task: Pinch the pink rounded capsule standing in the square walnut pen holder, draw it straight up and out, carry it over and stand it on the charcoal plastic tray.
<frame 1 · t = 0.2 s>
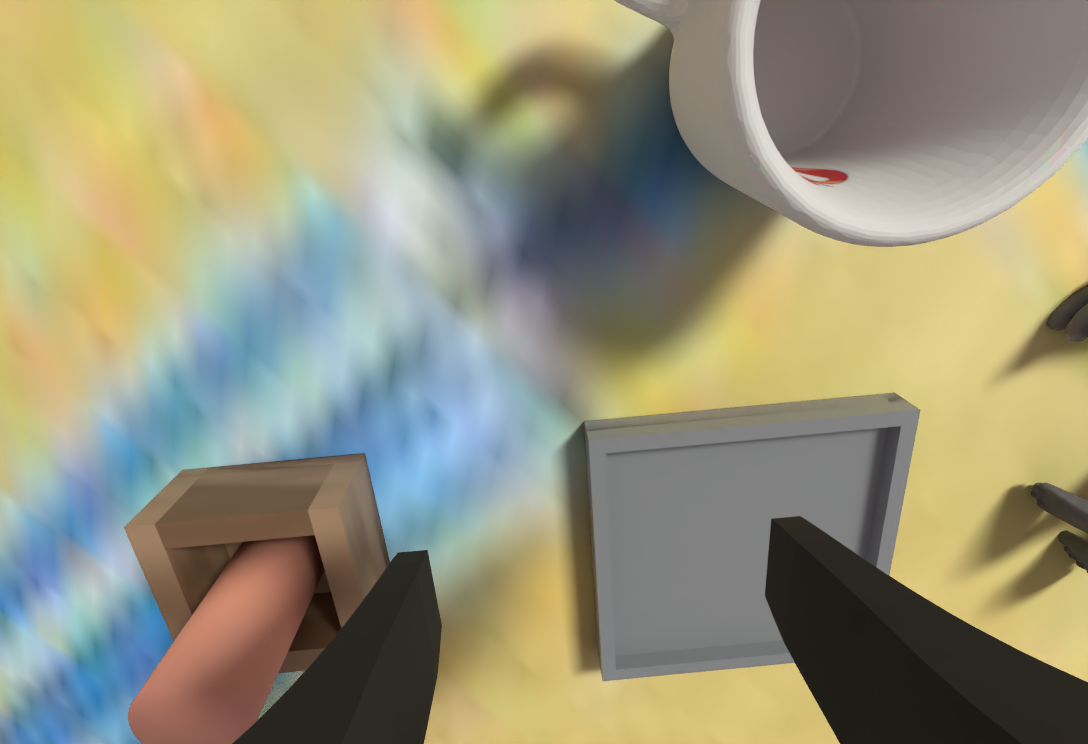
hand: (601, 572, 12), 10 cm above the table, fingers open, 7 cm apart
tray: (732, 534, 24), on the table
pink rounded capsule: (290, 545, 23), point 1 cm above the table, touching holder
holder: (296, 535, 23), on the table
cup: (723, 56, 18), on the table
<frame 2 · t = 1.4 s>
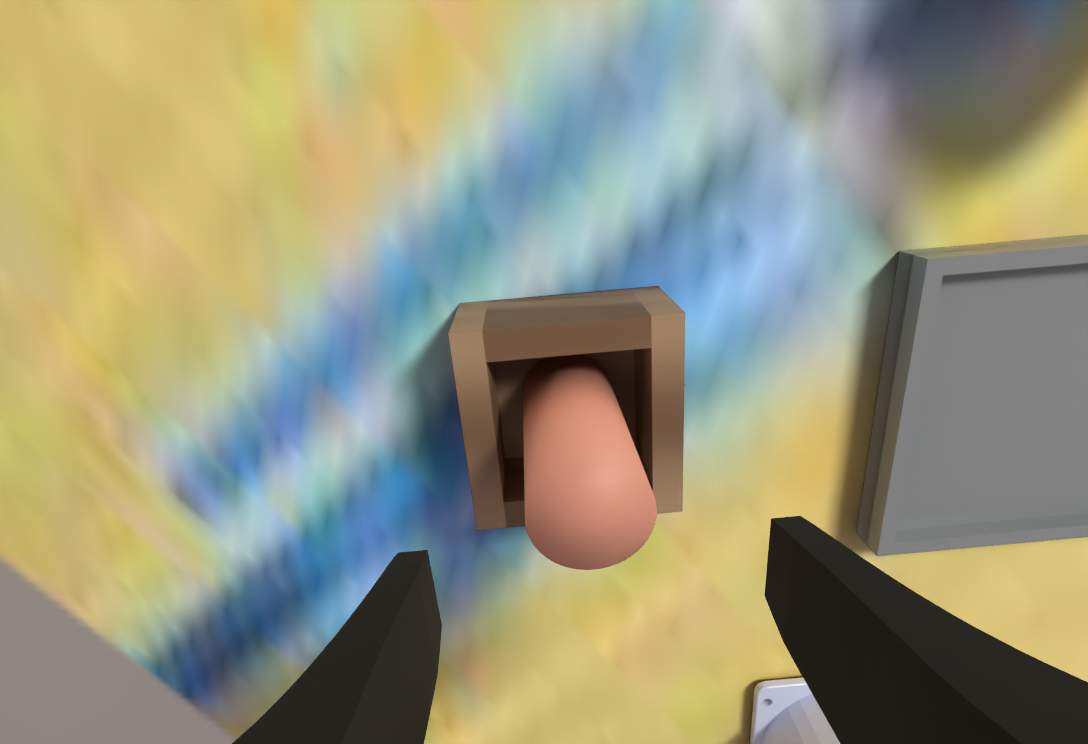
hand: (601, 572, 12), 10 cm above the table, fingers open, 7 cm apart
tray: (1028, 392, 22), on the table
pink rounded capsule: (566, 392, 21), point 1 cm above the table, touching holder
holder: (565, 386, 21), on the table
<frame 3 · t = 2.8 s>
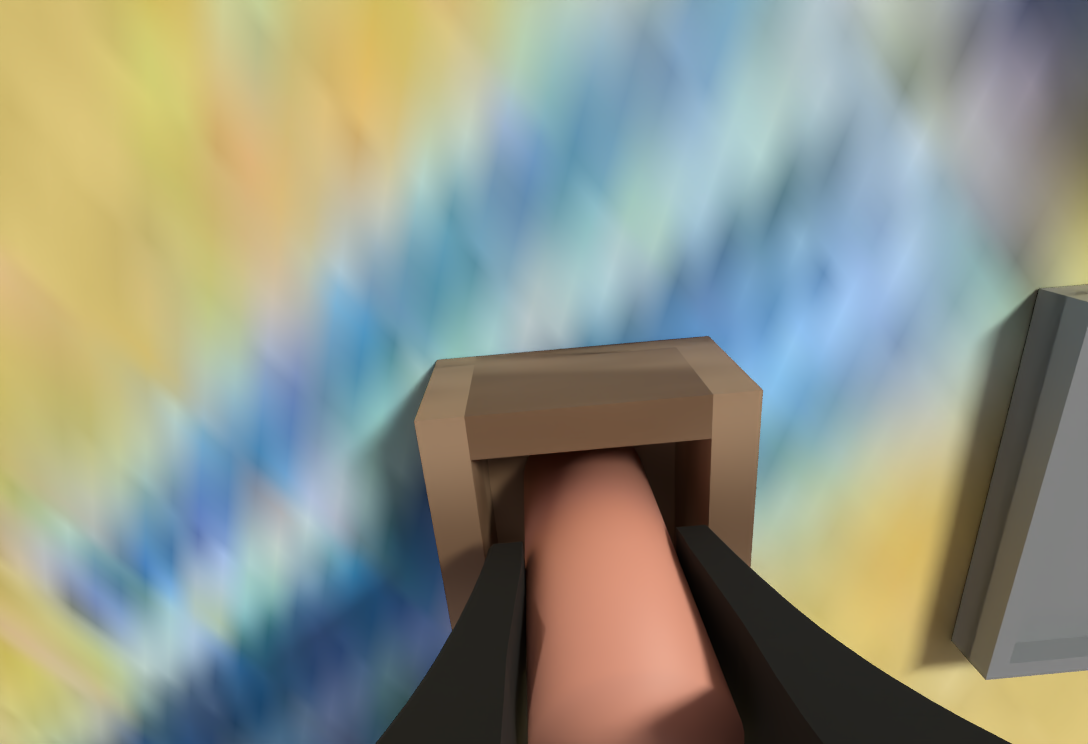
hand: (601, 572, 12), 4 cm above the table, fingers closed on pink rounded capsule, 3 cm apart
pink rounded capsule: (582, 477, 15), point 1 cm above the table, touching gripper, holder
holder: (580, 465, 16), on the table
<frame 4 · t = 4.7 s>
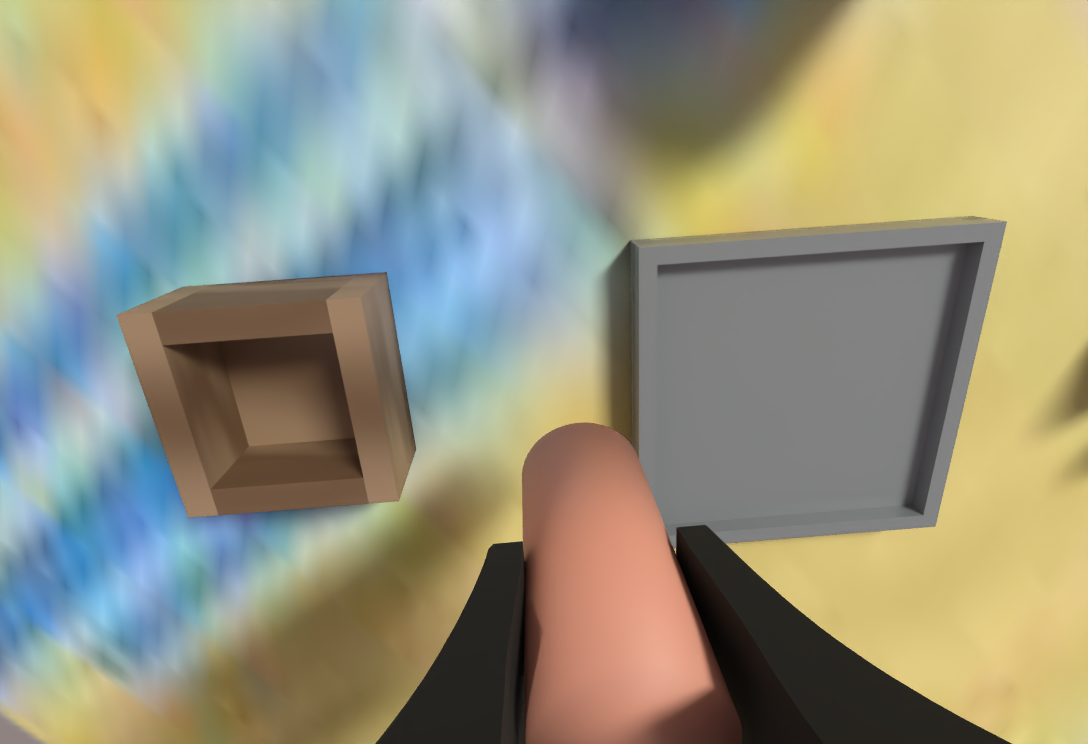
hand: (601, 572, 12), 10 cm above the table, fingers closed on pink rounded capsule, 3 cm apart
tray: (785, 386, 22), on the table
pink rounded capsule: (581, 475, 15), point 7 cm above the table, touching gripper
holder: (307, 373, 21), on the table
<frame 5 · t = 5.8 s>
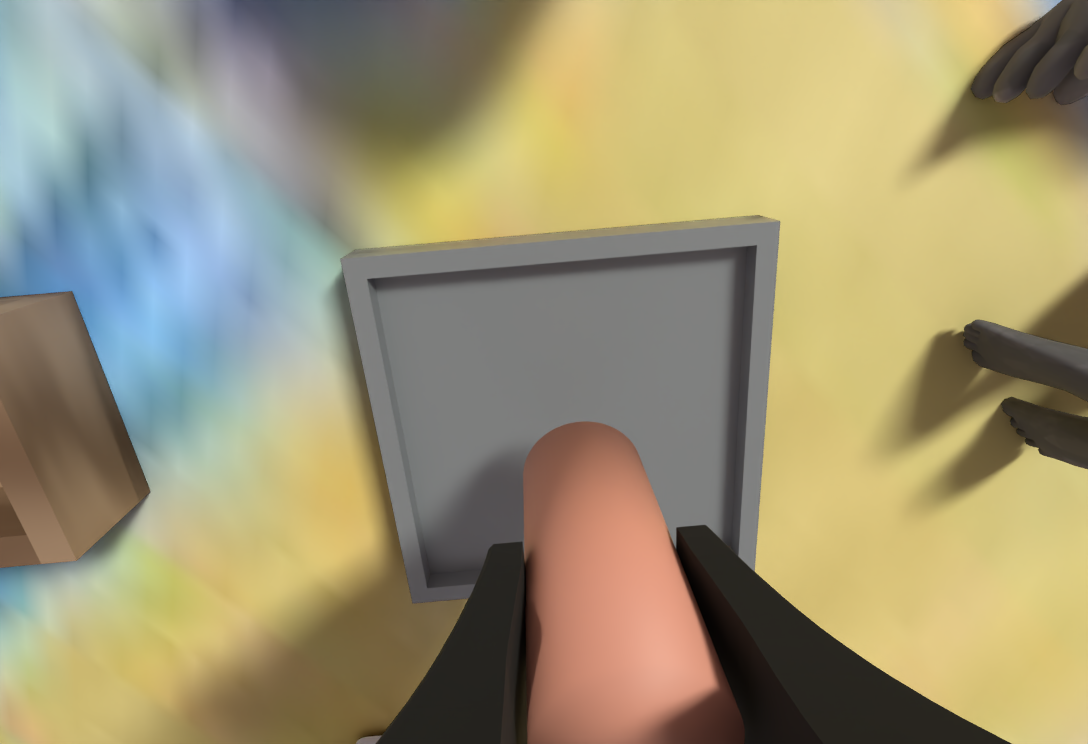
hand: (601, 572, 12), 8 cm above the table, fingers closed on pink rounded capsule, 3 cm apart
tray: (570, 414, 19), on the table
pink rounded capsule: (582, 474, 15), point 4 cm above the table, touching gripper
holder: (3, 408, 18), on the table
when the fingers open (6 cm above the table, at t = 6.5 s): pink rounded capsule stays where it is, resting on tray.
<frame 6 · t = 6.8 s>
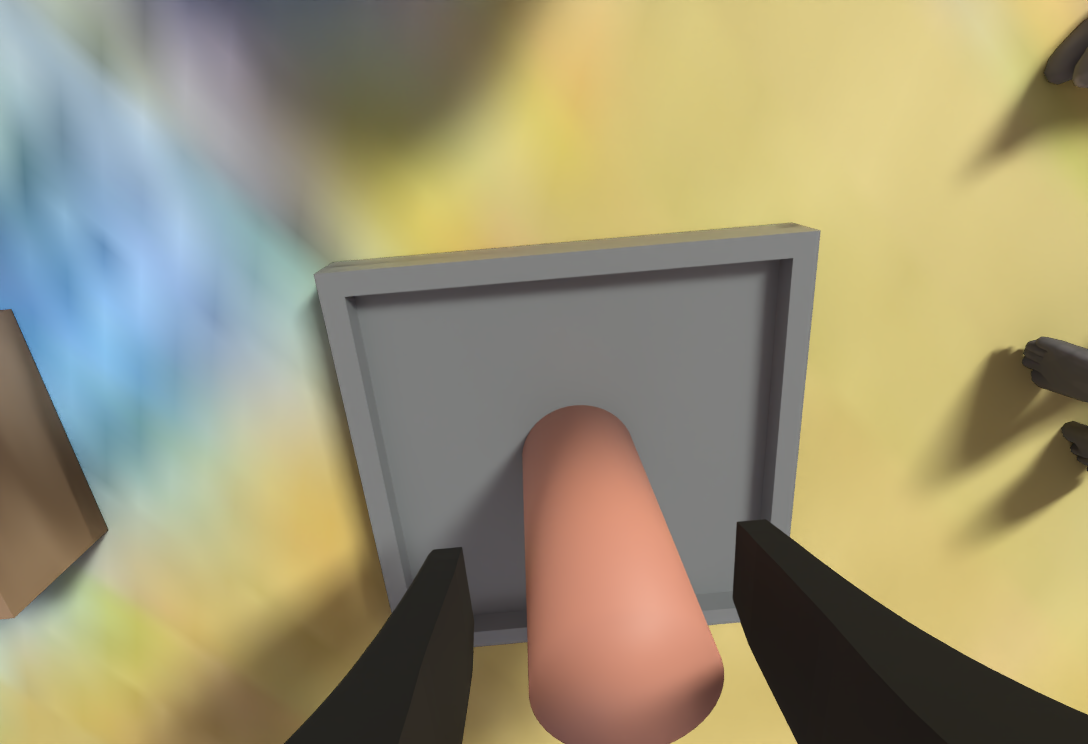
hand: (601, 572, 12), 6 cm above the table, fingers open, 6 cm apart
tray: (576, 444, 17), on the table
pink rounded capsule: (578, 455, 16), point 1 cm above the table, touching tray
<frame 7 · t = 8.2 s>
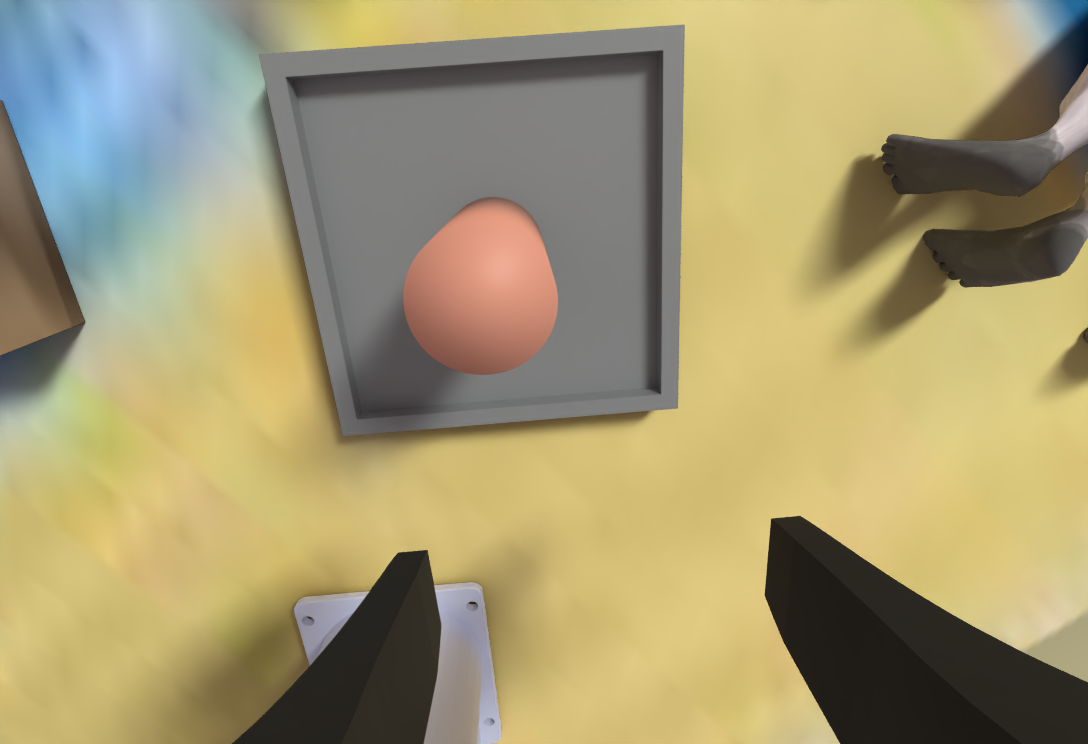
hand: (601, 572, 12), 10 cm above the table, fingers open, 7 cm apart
tray: (496, 246, 20), on the table
pink rounded capsule: (494, 247, 19), point 1 cm above the table, touching tray
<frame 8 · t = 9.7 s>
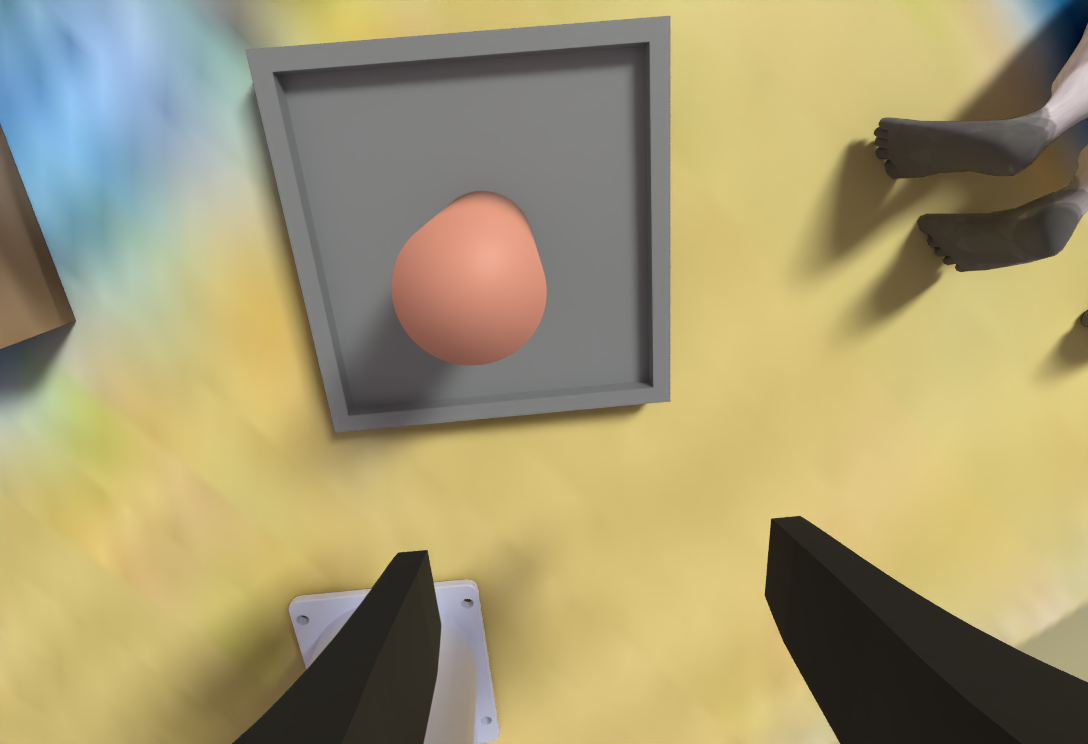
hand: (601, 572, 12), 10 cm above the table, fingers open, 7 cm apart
tray: (486, 240, 20), on the table
pink rounded capsule: (483, 241, 19), point 1 cm above the table, touching tray
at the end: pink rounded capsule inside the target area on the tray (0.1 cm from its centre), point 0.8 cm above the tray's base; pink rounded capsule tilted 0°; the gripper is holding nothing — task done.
